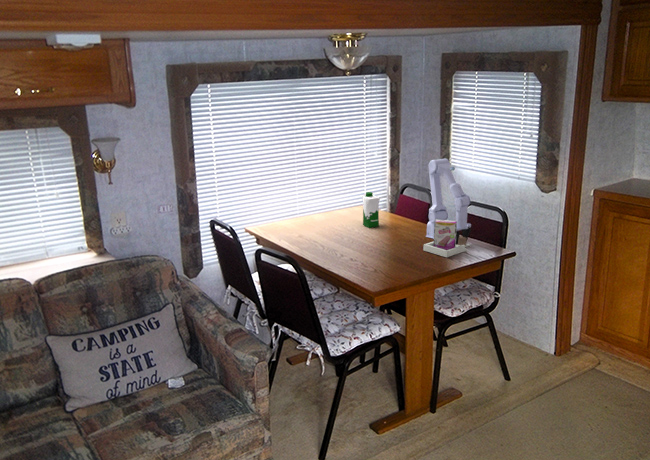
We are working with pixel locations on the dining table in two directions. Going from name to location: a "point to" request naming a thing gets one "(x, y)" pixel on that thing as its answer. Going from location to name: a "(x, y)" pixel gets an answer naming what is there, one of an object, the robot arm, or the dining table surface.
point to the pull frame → (446, 253)
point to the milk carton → (370, 210)
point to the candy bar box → (445, 234)
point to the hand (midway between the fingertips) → (460, 242)
